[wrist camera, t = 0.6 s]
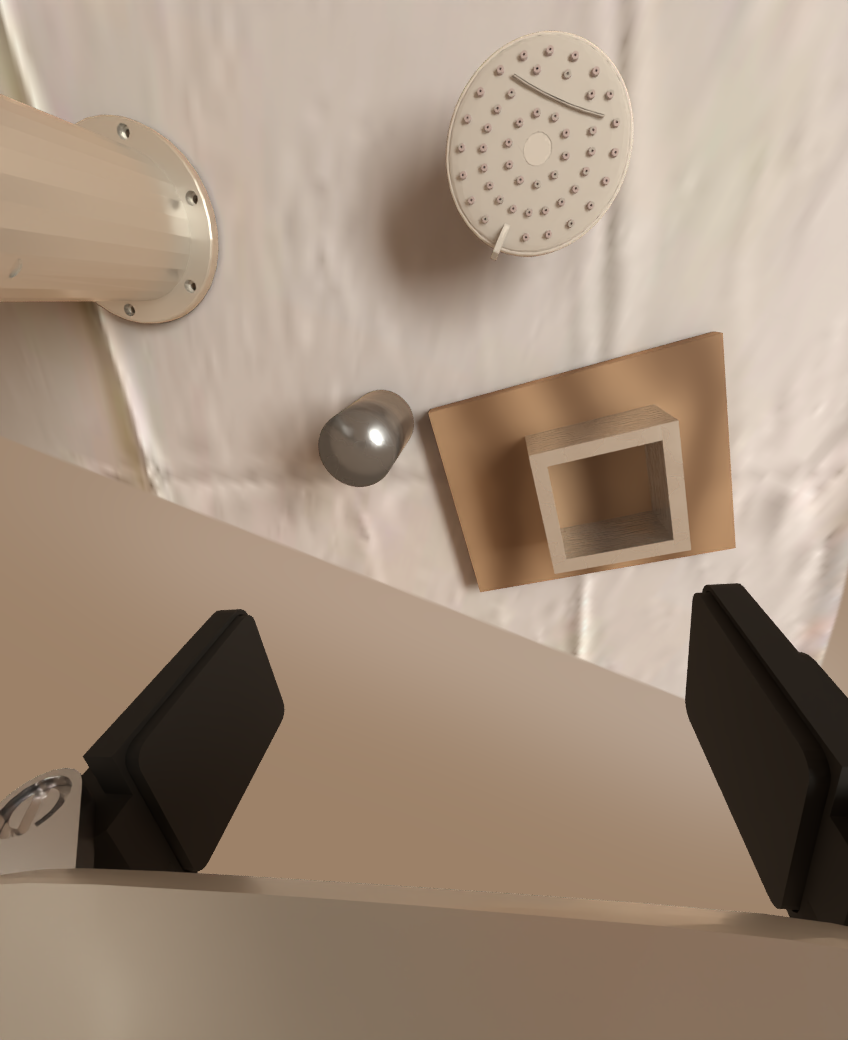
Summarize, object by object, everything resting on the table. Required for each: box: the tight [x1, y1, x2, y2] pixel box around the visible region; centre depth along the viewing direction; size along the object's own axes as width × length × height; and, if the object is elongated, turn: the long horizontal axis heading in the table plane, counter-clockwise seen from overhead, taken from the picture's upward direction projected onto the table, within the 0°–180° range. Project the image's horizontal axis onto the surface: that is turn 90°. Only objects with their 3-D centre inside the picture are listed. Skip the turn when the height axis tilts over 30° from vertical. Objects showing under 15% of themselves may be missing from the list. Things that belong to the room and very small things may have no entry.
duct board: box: [428, 332, 736, 592], centre depth 35 cm, size 20×16×6 cm
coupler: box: [318, 390, 414, 487], centre depth 35 cm, size 5×5×8 cm
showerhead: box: [446, 31, 633, 261], centre depth 27 cm, size 9×7×10 cm
